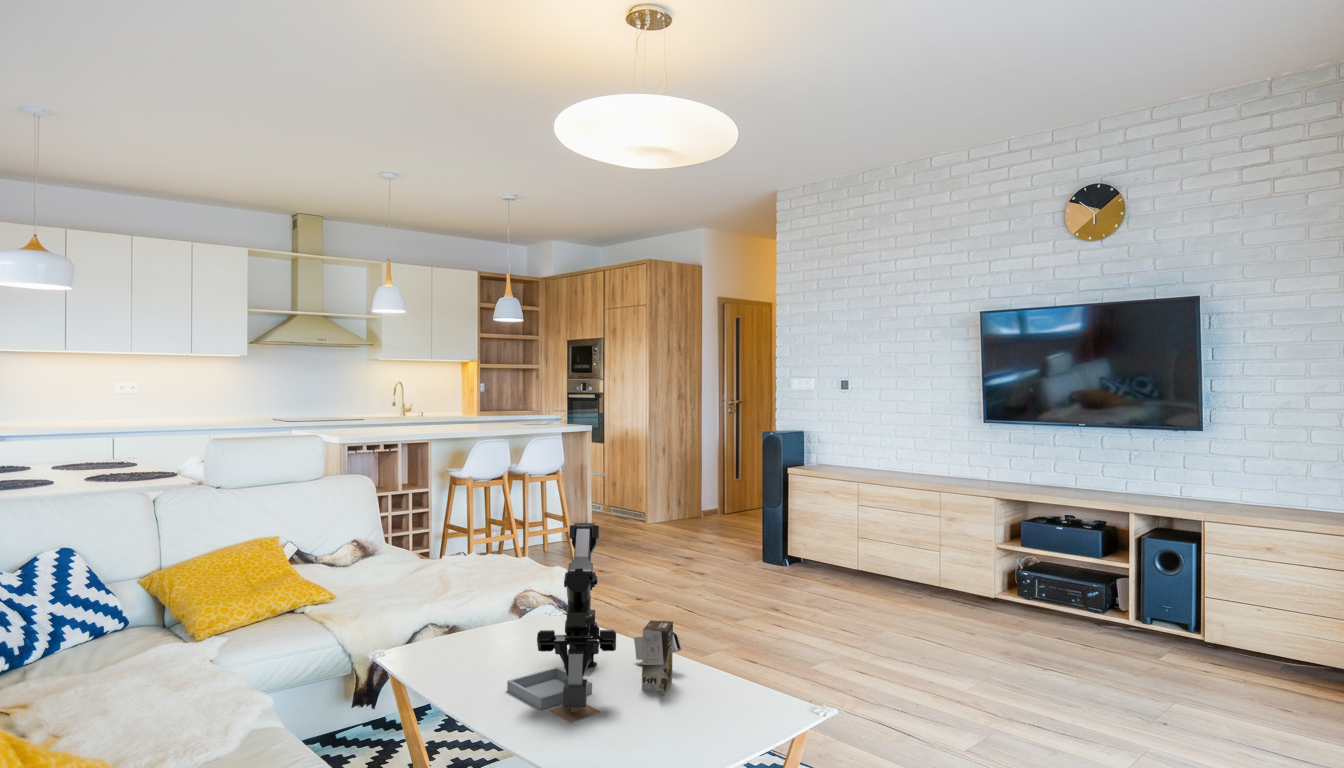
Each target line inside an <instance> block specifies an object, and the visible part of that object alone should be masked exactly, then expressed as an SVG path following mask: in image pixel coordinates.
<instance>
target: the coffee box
mask: <svg viewBox="0 0 1344 768" xmlns="http://www.w3.org/2000/svg"><path fill="white" fill-rule="evenodd" d="M673 632H674V621H669V620H649V622H648V623H647V624H646V625H645V626H644V628H643V629H642V636H643V655H642V663H641V669H642V670H641V690H642V691H643V690H644V691H653V692H657V694H658V695H659V696H666V694H667V692H668V690H669V688H670V687H671V685H672V684H673V653H674V652H673Z"/></svg>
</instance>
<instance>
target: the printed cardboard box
mask: <svg viewBox="0 0 1344 768" xmlns="http://www.w3.org/2000/svg"><path fill="white" fill-rule="evenodd" d="M633 643H634V647H635V649H634V650H635V659H636V660H637V661H639V660H642V655H643V635H640V636H635V637H633ZM683 650H684V649H683V646H682V643H681V638H680V636H679V634H678V632H675V631H673V653H677V652H680V651H683Z"/></svg>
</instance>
